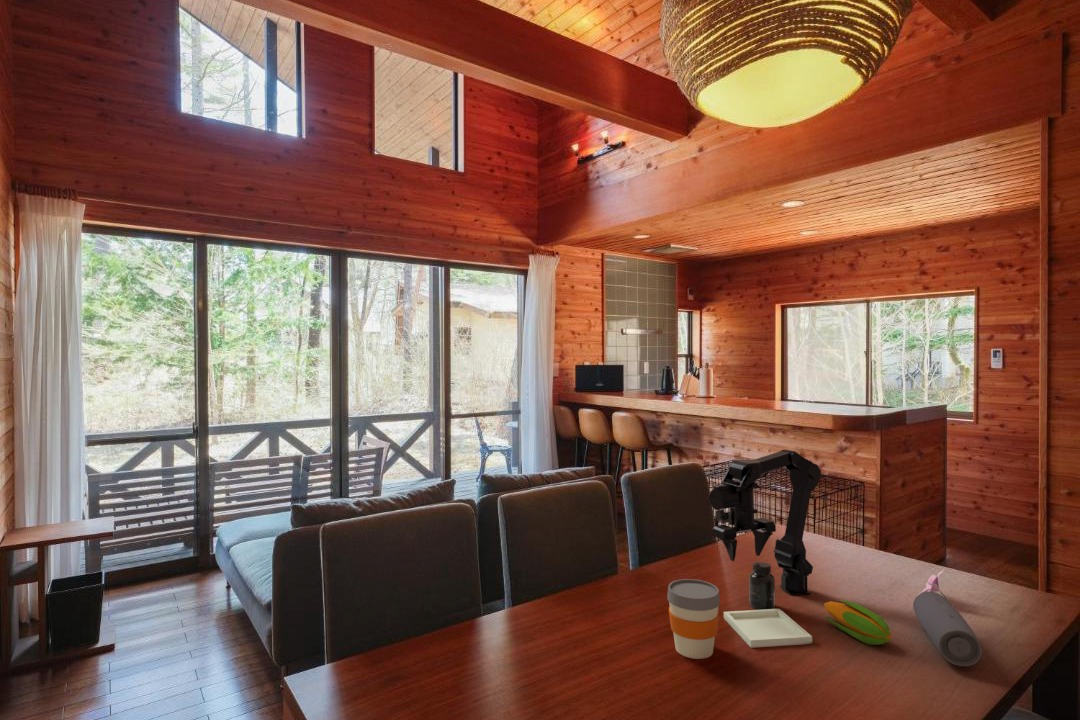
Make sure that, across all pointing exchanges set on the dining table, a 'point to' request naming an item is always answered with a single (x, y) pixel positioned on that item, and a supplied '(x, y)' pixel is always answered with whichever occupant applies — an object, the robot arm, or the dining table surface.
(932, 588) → the lily
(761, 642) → the tray
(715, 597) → the reusable coffee cup
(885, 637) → the corn
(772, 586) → the supplement bottle
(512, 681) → the dining table surface
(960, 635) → the bluetooth speaker
